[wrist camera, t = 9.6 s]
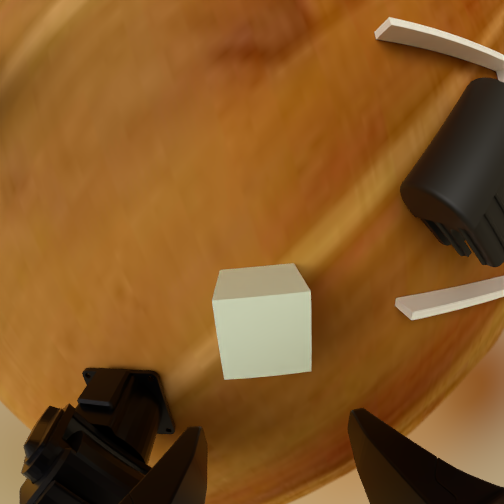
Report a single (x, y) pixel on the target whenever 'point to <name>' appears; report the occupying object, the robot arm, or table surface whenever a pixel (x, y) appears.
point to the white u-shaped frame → (493, 60)
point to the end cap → (465, 176)
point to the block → (263, 321)
